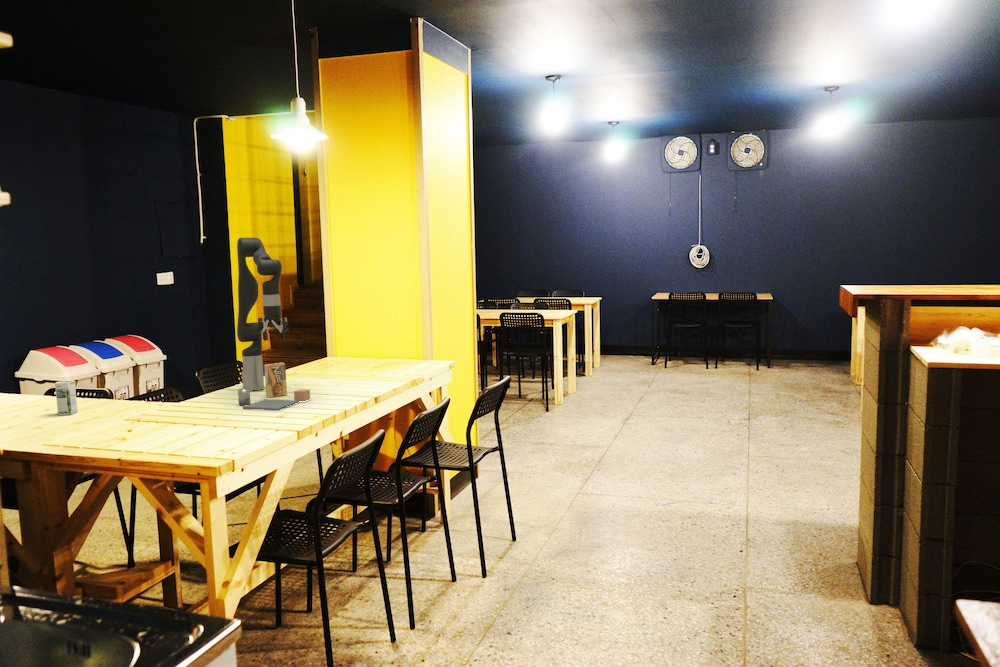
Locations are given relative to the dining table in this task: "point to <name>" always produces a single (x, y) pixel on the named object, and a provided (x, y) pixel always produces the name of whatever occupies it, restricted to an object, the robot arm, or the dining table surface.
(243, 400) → the grey metal cylinder
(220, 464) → the dining table surface
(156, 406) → the dining table surface
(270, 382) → the candy box
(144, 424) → the dining table surface
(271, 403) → the slate board
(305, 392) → the terracotta block
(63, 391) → the syrup box
